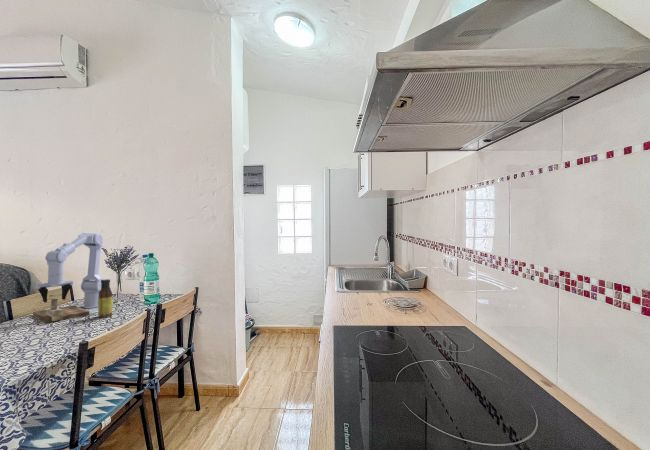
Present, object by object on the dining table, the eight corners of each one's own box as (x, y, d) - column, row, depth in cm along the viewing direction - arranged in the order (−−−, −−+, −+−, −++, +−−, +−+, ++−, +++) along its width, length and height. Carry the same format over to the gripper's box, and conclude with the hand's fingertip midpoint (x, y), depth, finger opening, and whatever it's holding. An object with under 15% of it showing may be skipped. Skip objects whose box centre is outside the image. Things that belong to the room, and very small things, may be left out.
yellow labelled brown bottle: (115, 315, 171) (116, 278, 171) (106, 318, 164) (107, 280, 165) (104, 314, 171) (105, 278, 171) (94, 317, 165) (96, 280, 165)
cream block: (56, 316, 163) (56, 297, 164) (62, 319, 158) (63, 300, 159) (46, 318, 160) (47, 299, 160) (52, 321, 155) (53, 301, 155)
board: (74, 309, 180) (74, 305, 180) (89, 315, 169) (89, 311, 169) (33, 315, 165) (33, 311, 165) (46, 322, 154) (46, 318, 154)
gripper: (68, 271, 168) (67, 297, 168) (33, 275, 156) (32, 302, 156) (75, 273, 165) (74, 298, 165) (40, 276, 152) (38, 304, 152)
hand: (54, 300), depth 160 cm, fingers open, 7 cm apart
